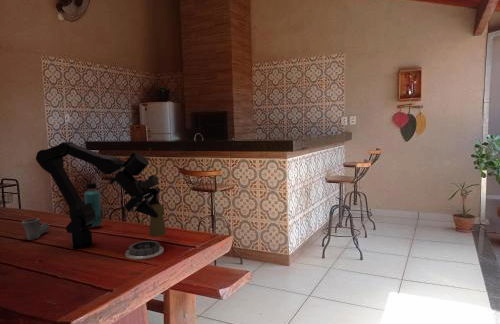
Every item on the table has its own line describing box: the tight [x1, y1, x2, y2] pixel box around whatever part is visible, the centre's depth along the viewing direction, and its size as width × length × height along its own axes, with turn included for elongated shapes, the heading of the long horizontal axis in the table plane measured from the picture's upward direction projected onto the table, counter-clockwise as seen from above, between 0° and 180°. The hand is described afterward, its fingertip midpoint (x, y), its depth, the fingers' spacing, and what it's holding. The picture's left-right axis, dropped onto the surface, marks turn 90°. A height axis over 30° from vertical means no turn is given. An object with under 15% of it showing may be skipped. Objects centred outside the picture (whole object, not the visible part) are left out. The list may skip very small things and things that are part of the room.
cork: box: [148, 203, 167, 238], centre depth 136 cm, size 6×6×11 cm
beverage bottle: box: [83, 182, 103, 227], centre depth 165 cm, size 6×7×20 cm
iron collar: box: [124, 240, 165, 261], centre depth 132 cm, size 13×13×3 cm
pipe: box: [21, 217, 50, 241], centre depth 155 cm, size 6×13×8 cm, turn 175°
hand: (160, 215), depth 135 cm, fingers closed on cork, 5 cm apart
